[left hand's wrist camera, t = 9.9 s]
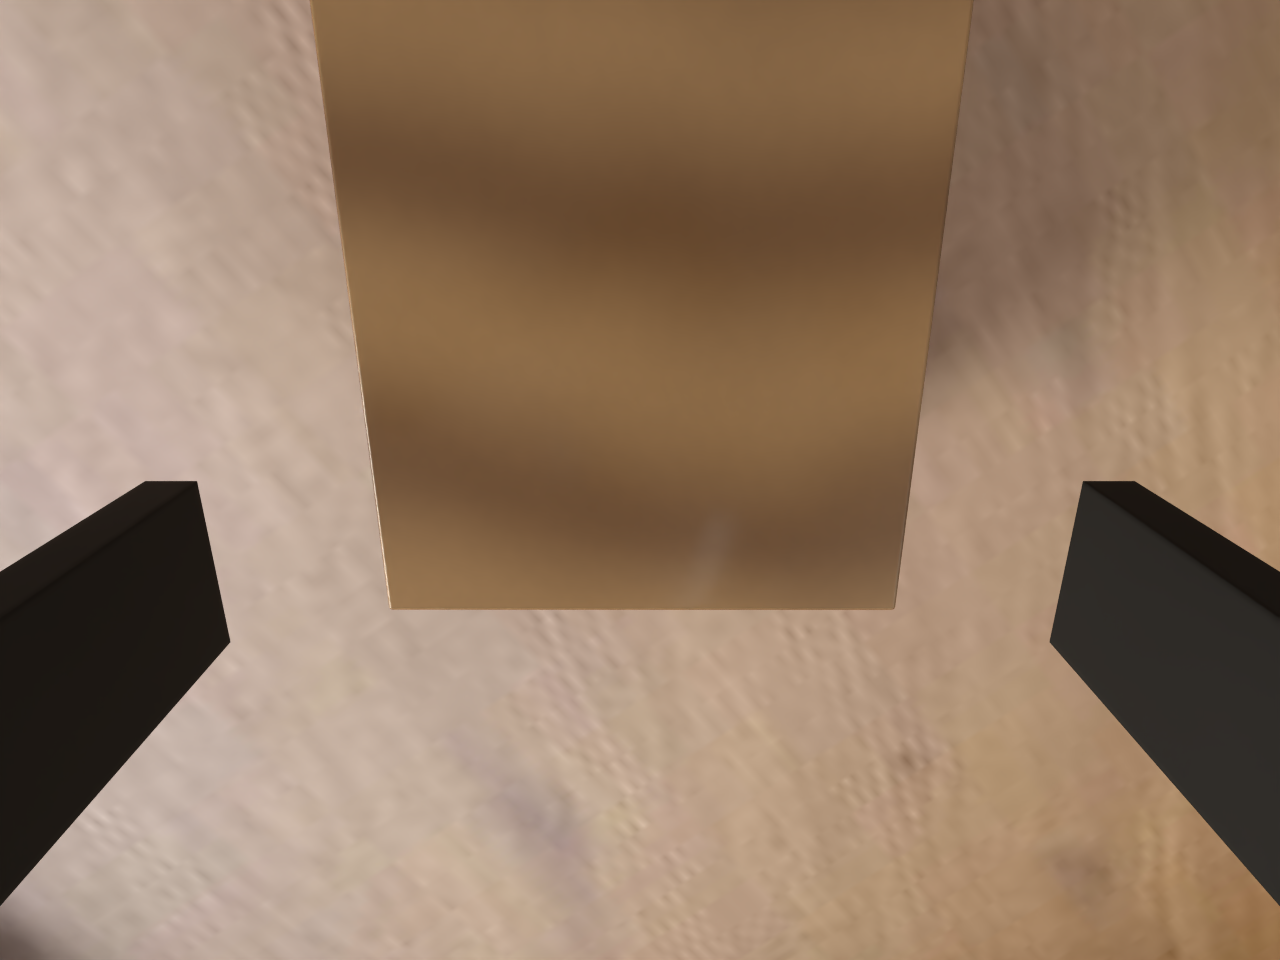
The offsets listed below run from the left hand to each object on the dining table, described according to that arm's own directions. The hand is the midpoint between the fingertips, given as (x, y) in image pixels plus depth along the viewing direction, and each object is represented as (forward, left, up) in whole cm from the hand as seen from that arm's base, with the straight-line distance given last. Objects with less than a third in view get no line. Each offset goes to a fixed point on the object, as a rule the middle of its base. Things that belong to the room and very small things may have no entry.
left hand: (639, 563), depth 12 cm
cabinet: (+5, -1, -16) cm, 17 cm away
